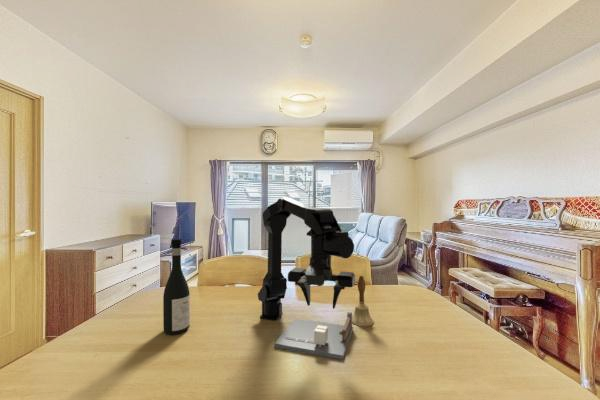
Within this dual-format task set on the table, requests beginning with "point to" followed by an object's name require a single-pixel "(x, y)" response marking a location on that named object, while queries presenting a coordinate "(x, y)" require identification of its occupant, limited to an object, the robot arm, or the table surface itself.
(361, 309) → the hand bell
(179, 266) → the wine bottle
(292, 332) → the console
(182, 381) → the table surface
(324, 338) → the fader
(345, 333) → the door
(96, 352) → the table surface
